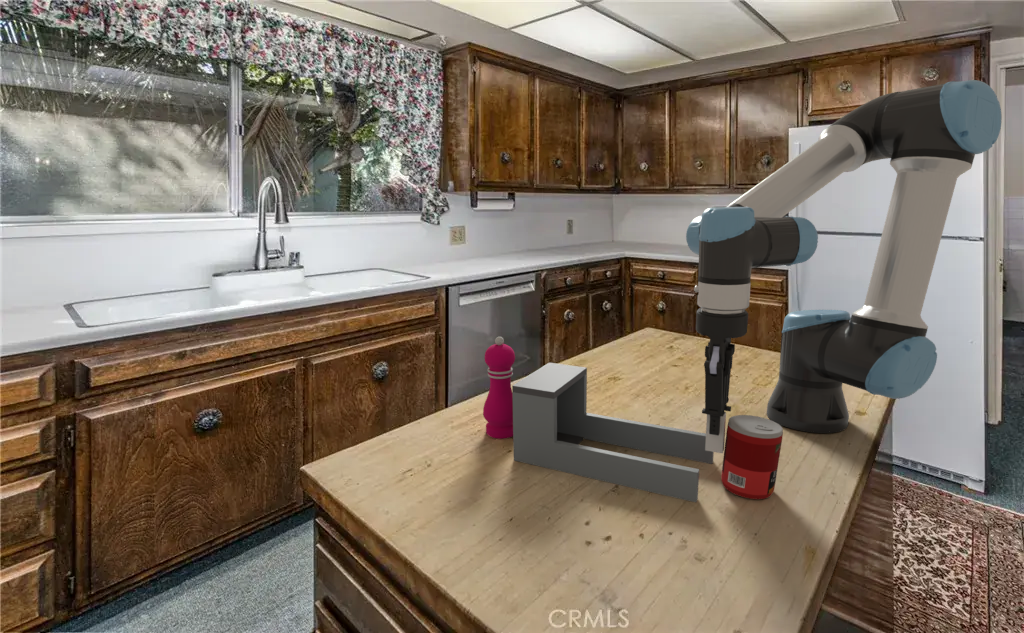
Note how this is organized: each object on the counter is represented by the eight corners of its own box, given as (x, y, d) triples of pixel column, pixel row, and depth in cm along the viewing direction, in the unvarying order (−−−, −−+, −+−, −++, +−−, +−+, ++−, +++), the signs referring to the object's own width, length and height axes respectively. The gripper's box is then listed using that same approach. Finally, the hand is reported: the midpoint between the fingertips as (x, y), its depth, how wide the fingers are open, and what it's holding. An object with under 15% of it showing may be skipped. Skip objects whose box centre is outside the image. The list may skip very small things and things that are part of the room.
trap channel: (713, 461, 101) (717, 385, 98) (696, 502, 87) (701, 416, 84) (549, 429, 116) (549, 362, 113) (513, 460, 102) (512, 385, 99)
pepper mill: (493, 443, 110) (490, 343, 105) (477, 429, 116) (474, 335, 112) (525, 435, 113) (524, 338, 109) (509, 422, 119) (507, 330, 115)
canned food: (780, 503, 87) (790, 436, 84) (725, 497, 88) (734, 431, 85) (766, 478, 94) (775, 416, 92) (716, 473, 95) (723, 412, 93)
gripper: (704, 299, 95) (698, 431, 100) (688, 315, 84) (682, 462, 89) (753, 302, 91) (744, 438, 96) (742, 319, 80) (733, 472, 85)
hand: (714, 449), depth 92 cm, fingers closed
